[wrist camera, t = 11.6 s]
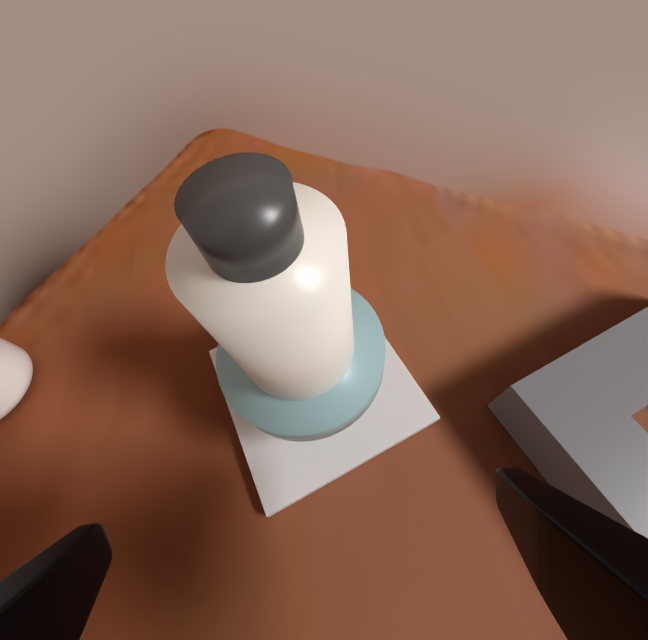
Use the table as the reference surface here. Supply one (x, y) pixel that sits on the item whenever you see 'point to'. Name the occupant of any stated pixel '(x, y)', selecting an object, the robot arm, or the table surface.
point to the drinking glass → (13, 375)
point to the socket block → (589, 421)
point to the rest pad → (334, 440)
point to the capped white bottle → (275, 297)
